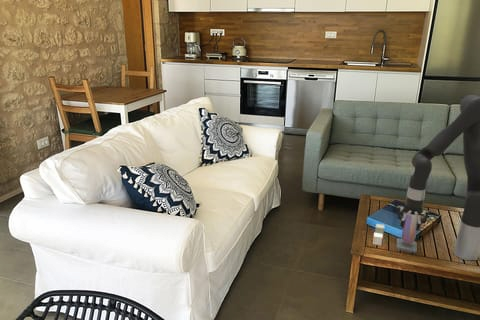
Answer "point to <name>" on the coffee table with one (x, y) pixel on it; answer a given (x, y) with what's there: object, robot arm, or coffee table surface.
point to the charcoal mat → (406, 246)
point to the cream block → (377, 239)
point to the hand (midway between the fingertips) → (409, 228)
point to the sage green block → (379, 228)
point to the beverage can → (409, 228)
